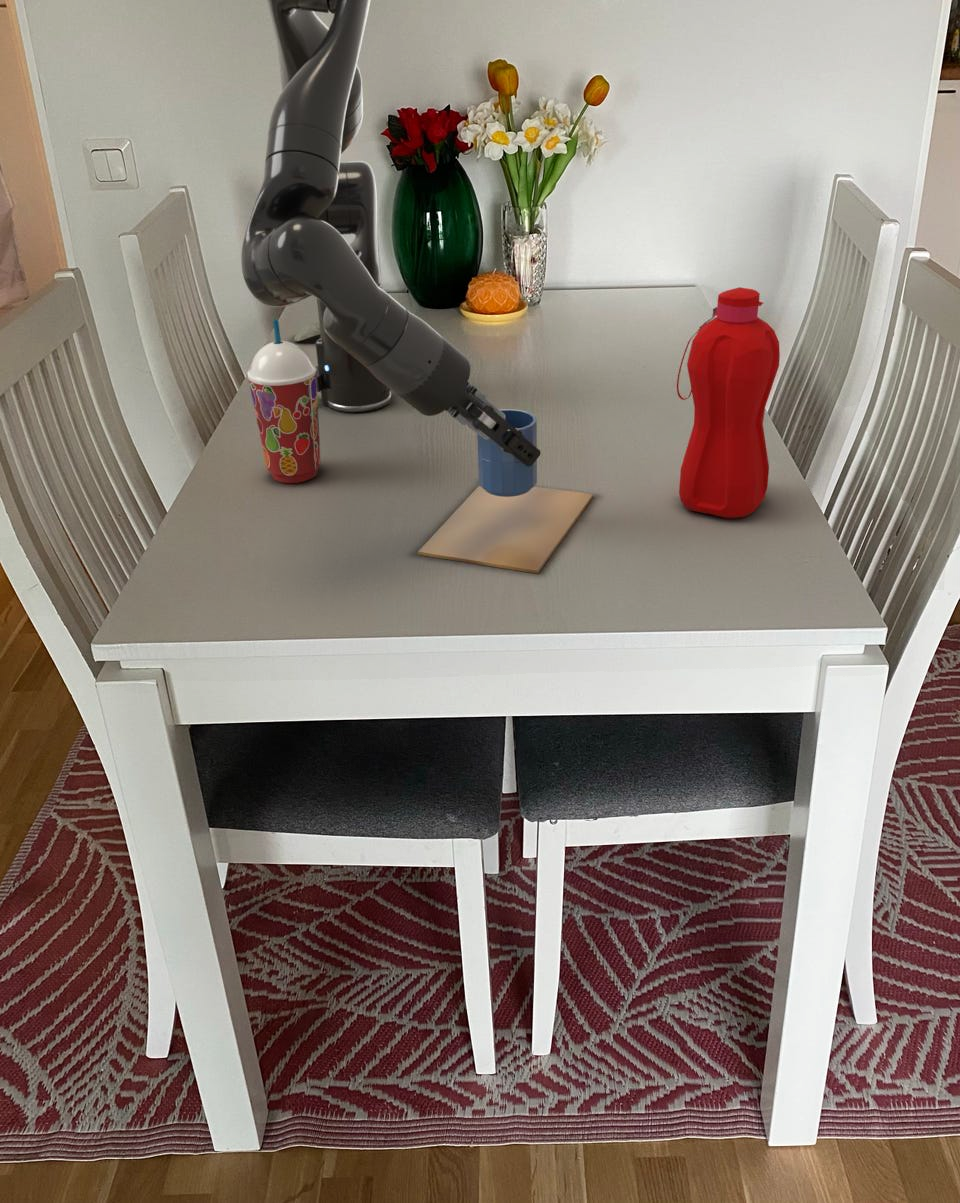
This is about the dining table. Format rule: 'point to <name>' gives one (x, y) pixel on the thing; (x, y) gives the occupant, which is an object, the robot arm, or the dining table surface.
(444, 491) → the dining table surface
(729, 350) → the water bottle
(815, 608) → the dining table surface
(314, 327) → the soupspoon
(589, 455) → the dining table surface
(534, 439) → the blue plastic tumbler
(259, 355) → the smoothie
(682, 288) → the dining table surface
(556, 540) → the mat
